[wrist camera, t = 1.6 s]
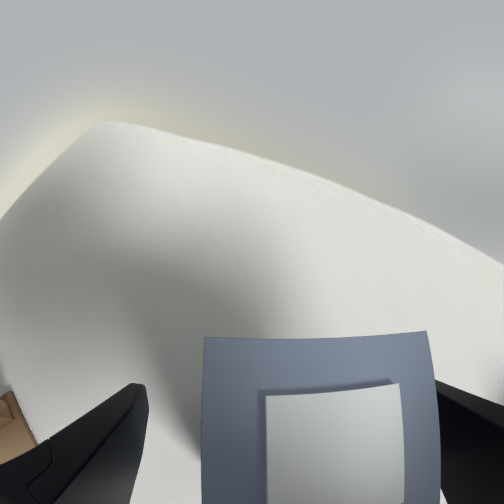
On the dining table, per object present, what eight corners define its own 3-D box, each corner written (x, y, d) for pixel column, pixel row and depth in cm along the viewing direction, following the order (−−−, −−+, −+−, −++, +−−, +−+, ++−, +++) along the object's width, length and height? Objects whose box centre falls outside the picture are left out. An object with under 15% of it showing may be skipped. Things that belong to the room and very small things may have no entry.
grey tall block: (304, 472, 12) (442, 525, 3) (215, 476, 11) (204, 574, 2) (302, 394, 14) (430, 327, 5) (216, 394, 14) (203, 334, 5)
